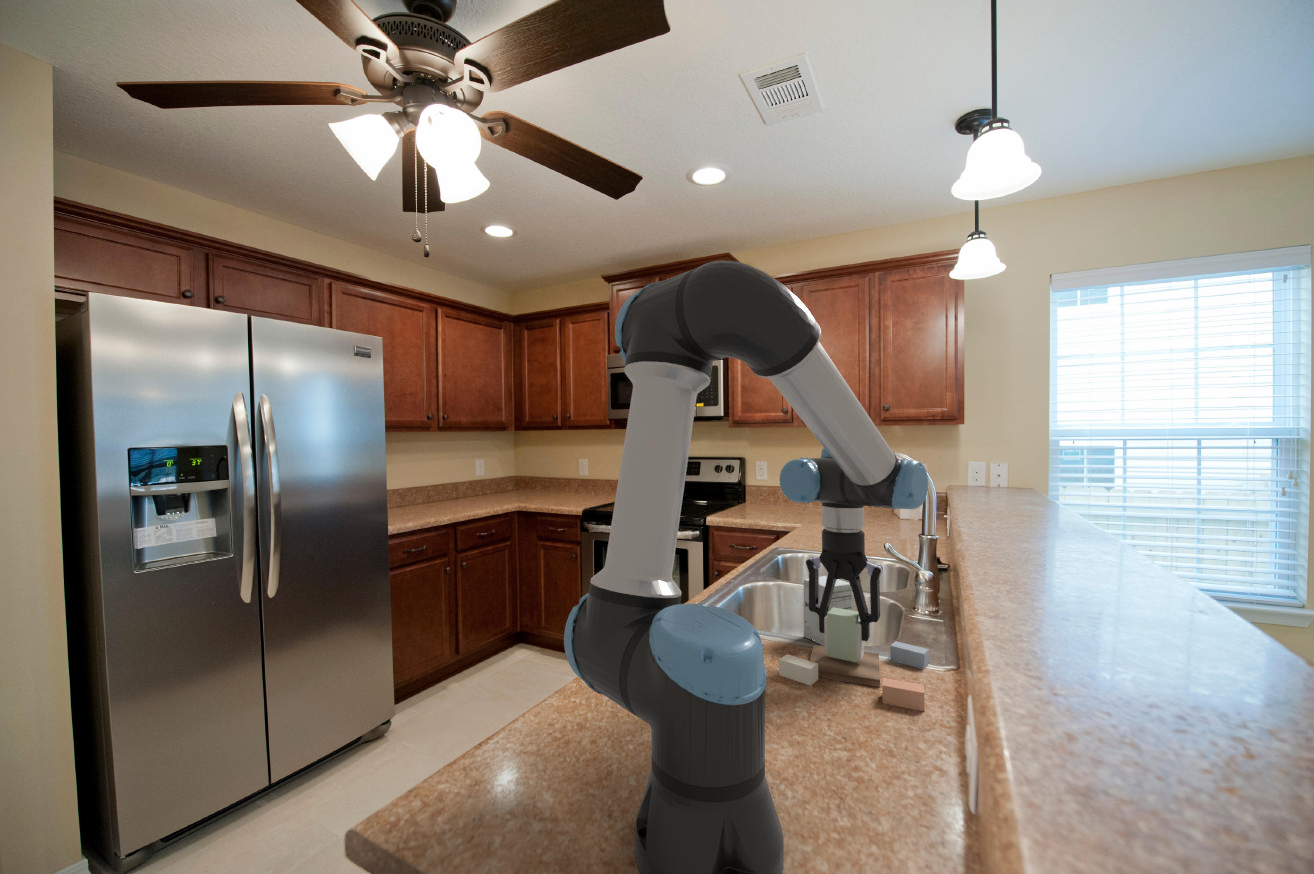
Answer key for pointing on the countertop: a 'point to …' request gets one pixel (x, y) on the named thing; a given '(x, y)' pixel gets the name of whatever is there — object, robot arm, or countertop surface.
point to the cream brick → (798, 669)
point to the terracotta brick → (903, 694)
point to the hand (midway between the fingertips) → (844, 653)
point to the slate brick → (909, 655)
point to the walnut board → (847, 667)
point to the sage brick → (842, 634)
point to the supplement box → (839, 599)
